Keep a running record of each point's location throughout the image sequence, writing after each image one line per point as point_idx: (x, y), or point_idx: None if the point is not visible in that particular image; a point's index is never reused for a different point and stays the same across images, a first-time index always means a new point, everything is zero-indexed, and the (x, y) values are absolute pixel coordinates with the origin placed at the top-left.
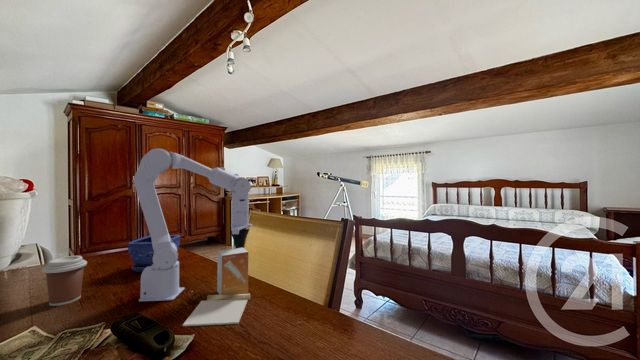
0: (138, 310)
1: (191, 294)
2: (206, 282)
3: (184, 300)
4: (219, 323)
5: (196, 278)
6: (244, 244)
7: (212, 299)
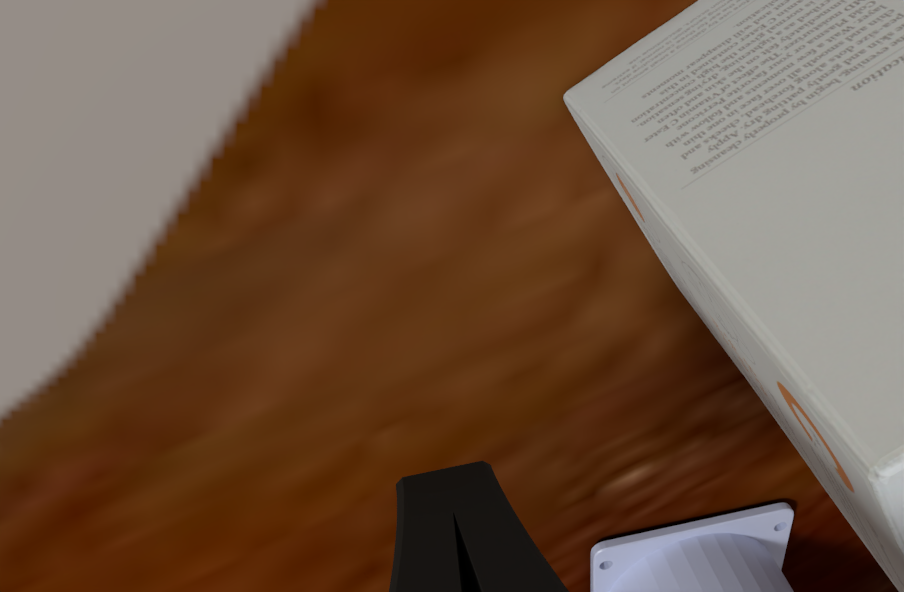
0: (867, 571)
1: (698, 450)
2: None
3: None
4: None
5: (356, 584)
6: (434, 575)
7: None
